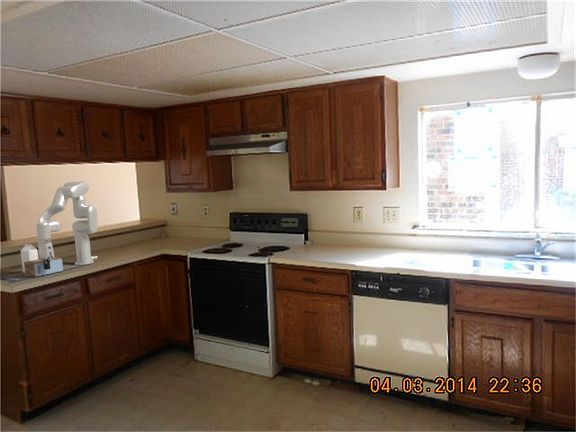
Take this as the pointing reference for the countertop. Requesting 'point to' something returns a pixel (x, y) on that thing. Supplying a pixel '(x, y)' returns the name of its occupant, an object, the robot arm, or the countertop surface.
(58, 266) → the cabinet door
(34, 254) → the milk carton
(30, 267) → the walnut cabinet
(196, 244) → the countertop surface
